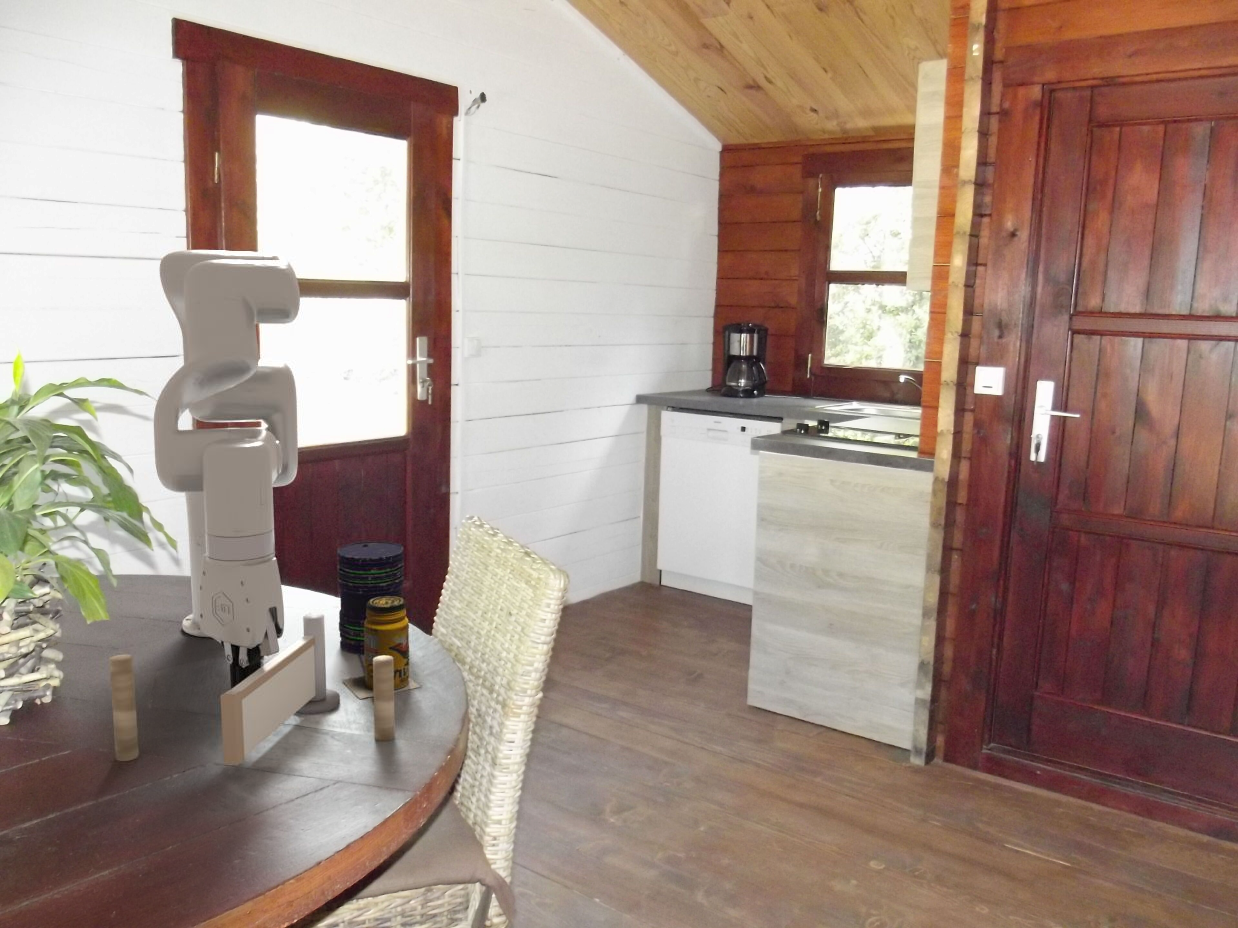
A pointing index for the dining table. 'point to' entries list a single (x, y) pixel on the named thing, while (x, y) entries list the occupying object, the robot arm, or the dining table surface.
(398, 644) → the condiment
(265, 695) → the gate
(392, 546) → the storage jar
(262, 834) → the dining table surface
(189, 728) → the dining table surface
